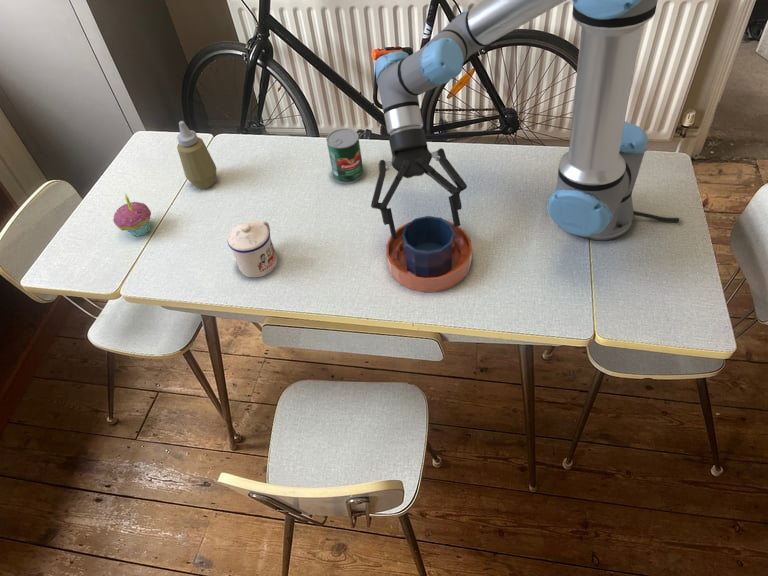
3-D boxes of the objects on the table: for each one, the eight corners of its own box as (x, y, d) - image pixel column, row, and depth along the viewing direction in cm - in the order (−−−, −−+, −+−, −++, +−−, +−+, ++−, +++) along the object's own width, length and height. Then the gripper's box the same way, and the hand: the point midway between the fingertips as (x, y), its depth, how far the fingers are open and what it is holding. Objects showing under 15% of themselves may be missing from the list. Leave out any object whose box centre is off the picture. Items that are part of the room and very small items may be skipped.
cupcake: (164, 222, 141) (145, 184, 132) (142, 246, 137) (120, 207, 128) (137, 214, 144) (117, 176, 135) (114, 237, 139) (91, 199, 130)
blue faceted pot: (458, 247, 127) (459, 220, 121) (447, 282, 121) (447, 256, 115) (412, 239, 130) (410, 213, 124) (398, 273, 124) (396, 247, 117)
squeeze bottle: (226, 177, 151) (205, 117, 137) (205, 195, 147) (181, 135, 133) (204, 169, 154) (181, 109, 141) (183, 186, 150) (157, 127, 137)
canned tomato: (345, 160, 152) (339, 124, 143) (369, 170, 148) (365, 133, 140) (326, 177, 148) (319, 141, 139) (351, 187, 144) (345, 151, 136)
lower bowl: (478, 240, 129) (479, 225, 125) (460, 300, 118) (461, 286, 115) (401, 227, 133) (400, 213, 130) (377, 284, 123) (375, 270, 119)
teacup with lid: (268, 282, 126) (254, 244, 117) (231, 275, 128) (215, 237, 119) (290, 244, 133) (279, 206, 124) (255, 237, 135) (241, 199, 126)
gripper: (460, 124, 124) (478, 222, 126) (346, 146, 122) (366, 245, 124) (468, 116, 117) (488, 220, 118) (347, 139, 115) (369, 244, 116)
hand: (426, 233), depth 121 cm, fingers open, 13 cm apart
